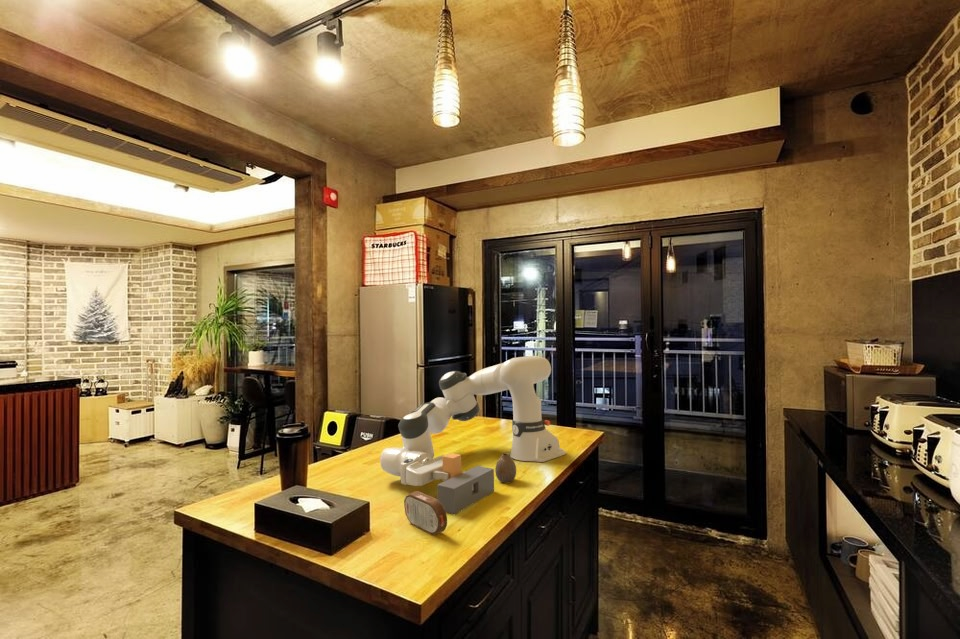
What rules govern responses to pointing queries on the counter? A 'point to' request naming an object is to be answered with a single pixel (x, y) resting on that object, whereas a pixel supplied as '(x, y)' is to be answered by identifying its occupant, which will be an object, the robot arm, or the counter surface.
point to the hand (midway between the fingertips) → (454, 473)
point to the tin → (425, 512)
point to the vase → (505, 469)
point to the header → (465, 489)
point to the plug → (452, 465)
